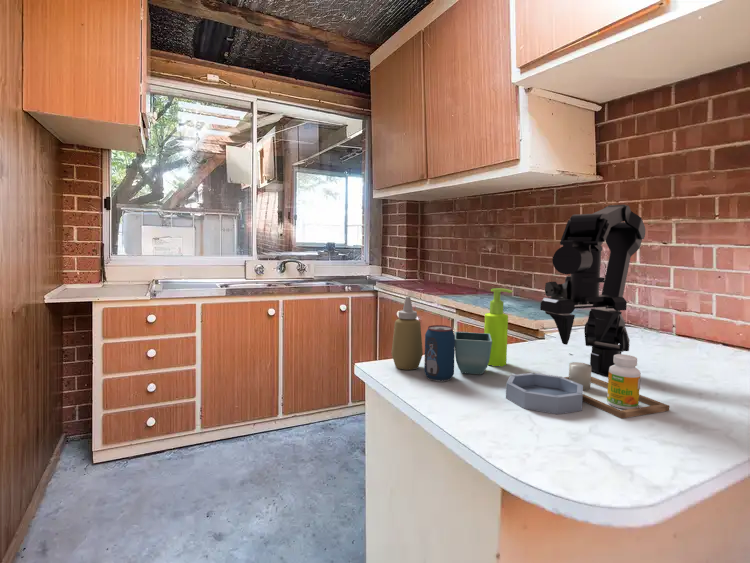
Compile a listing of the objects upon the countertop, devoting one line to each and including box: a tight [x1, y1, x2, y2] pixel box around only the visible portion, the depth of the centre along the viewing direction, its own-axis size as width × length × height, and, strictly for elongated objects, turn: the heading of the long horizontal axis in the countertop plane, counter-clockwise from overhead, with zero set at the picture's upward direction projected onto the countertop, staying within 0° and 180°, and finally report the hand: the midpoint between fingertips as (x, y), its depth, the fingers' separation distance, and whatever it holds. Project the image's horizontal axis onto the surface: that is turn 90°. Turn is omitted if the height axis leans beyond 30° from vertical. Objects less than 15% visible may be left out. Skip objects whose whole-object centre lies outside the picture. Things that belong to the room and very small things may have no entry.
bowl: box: [505, 372, 584, 415], centre depth 85 cm, size 14×14×3 cm
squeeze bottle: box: [391, 296, 424, 371], centre depth 106 cm, size 8×8×18 cm
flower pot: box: [454, 331, 492, 375], centre depth 104 cm, size 9×9×9 cm
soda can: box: [423, 324, 455, 382], centre depth 99 cm, size 7×7×12 cm
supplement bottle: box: [606, 353, 642, 410], centre depth 83 cm, size 5×5×10 cm
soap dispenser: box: [483, 287, 514, 367], centre depth 110 cm, size 6×7×20 cm
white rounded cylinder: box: [568, 361, 592, 391], centre depth 93 cm, size 4×4×5 cm
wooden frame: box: [563, 376, 670, 419], centre depth 88 cm, size 12×20×1 cm, turn 18°
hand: (581, 342), depth 93 cm, fingers open, 9 cm apart
